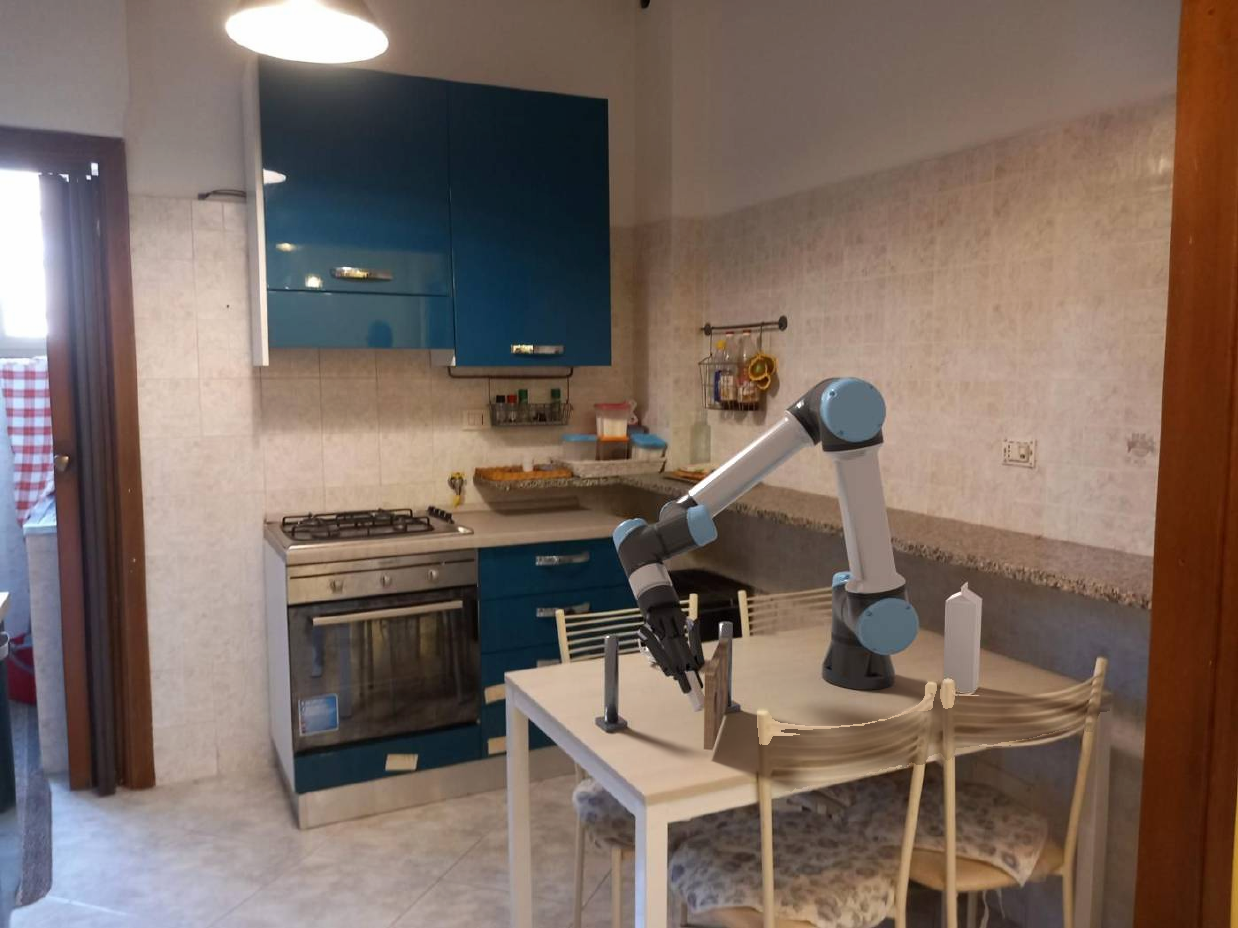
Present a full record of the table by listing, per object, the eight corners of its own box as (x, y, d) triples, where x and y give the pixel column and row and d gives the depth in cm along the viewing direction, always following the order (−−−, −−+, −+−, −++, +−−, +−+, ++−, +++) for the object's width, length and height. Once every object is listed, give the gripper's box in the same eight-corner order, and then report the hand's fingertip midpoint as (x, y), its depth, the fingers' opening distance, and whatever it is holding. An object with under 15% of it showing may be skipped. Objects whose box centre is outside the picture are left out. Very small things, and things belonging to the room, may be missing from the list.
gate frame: (720, 699, 186) (722, 616, 185) (740, 710, 180) (741, 624, 179) (595, 723, 173) (595, 634, 172) (612, 736, 167) (612, 643, 166)
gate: (719, 703, 180) (720, 637, 178) (729, 704, 179) (730, 638, 178) (703, 749, 158) (704, 674, 157) (714, 750, 158) (715, 675, 156)
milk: (978, 687, 194) (983, 583, 192) (972, 696, 189) (977, 589, 187) (948, 682, 198) (953, 579, 195) (941, 690, 192) (946, 585, 190)
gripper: (677, 600, 182) (723, 711, 169) (617, 607, 176) (660, 723, 163) (691, 579, 177) (740, 692, 164) (631, 586, 171) (676, 704, 158)
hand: (700, 707), depth 163 cm, fingers closed
